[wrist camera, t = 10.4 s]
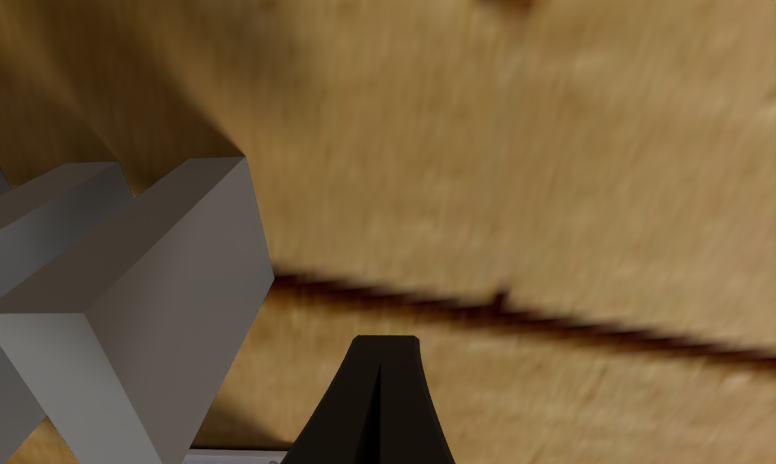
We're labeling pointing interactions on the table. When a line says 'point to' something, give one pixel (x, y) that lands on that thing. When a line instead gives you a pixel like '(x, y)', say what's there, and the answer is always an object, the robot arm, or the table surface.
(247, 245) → the gray domino
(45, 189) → the gray domino
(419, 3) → the table surface
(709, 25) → the table surface
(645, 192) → the table surface
